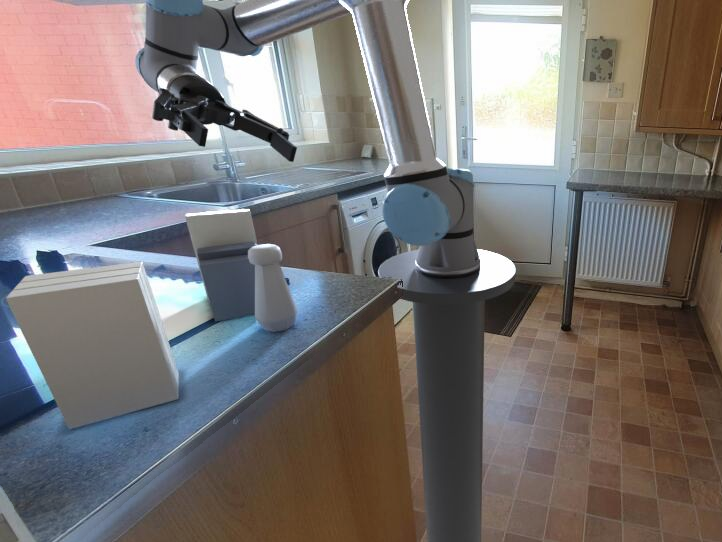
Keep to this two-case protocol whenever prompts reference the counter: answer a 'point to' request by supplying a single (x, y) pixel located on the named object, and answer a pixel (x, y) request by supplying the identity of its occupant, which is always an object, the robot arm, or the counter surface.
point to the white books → (97, 340)
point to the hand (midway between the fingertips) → (252, 147)
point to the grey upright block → (229, 279)
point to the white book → (220, 229)
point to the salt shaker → (271, 289)
